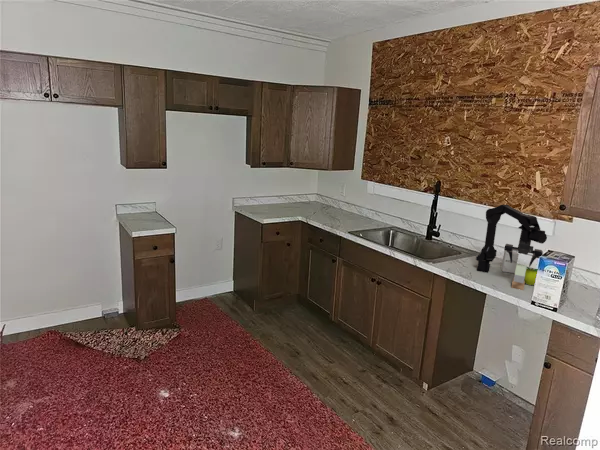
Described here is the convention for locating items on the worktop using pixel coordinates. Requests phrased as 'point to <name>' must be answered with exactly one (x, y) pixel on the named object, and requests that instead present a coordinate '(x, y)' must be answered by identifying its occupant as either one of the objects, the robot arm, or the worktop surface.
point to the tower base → (518, 285)
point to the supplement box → (509, 262)
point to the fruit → (530, 276)
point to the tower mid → (519, 278)
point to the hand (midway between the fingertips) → (520, 264)
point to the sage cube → (520, 270)
